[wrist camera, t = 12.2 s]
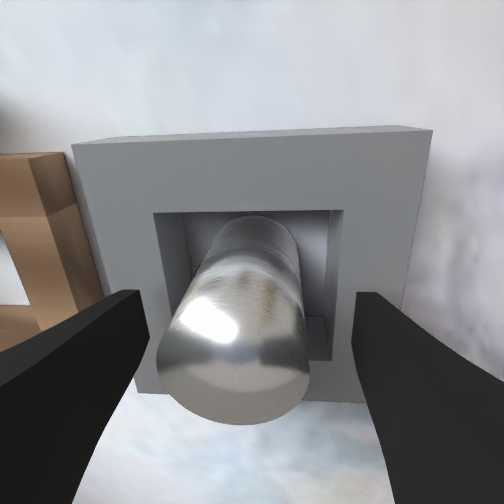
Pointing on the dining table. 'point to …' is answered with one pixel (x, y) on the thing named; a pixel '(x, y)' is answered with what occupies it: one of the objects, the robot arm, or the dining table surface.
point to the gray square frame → (260, 199)
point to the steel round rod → (240, 329)
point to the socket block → (43, 245)
